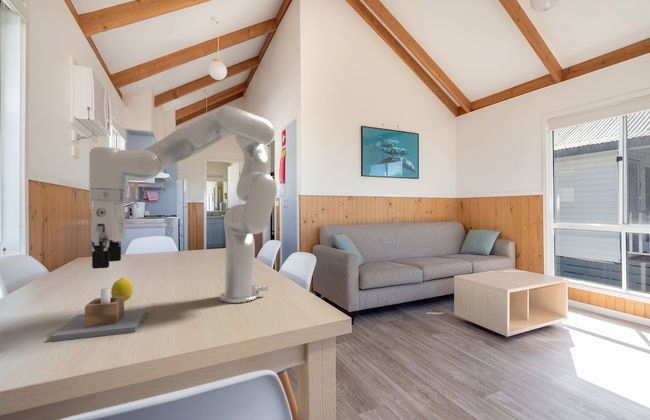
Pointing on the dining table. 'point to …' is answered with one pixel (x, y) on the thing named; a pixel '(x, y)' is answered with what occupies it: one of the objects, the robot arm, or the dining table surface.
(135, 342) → the dining table surface
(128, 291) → the lemon
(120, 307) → the brown wooden hollow block
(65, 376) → the dining table surface
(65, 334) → the grey peg board
